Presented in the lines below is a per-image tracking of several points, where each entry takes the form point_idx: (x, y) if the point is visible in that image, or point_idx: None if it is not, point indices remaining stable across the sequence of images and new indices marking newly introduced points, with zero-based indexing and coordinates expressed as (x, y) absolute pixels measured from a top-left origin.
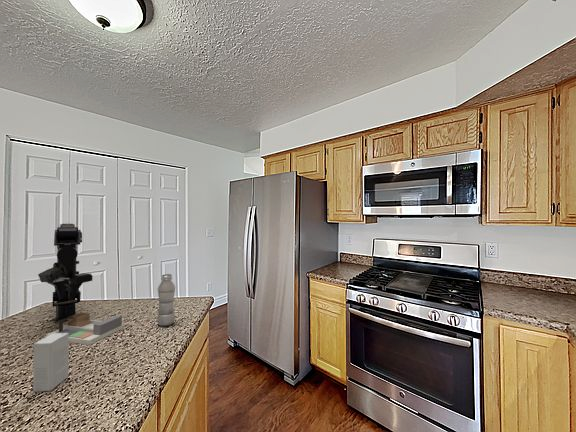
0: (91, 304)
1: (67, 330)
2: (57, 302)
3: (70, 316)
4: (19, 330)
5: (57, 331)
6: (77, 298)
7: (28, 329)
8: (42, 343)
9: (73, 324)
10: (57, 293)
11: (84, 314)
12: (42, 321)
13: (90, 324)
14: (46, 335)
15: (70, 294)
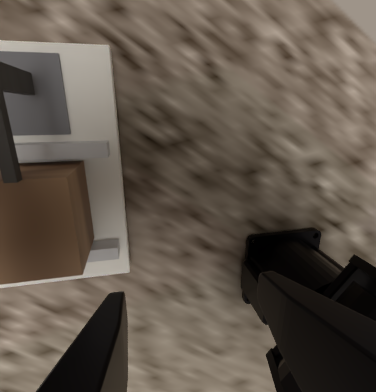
0: None
1: (27, 123)
2: (349, 285)
3: (62, 191)
4: (350, 101)
5: (87, 101)
6: (279, 380)
7: (321, 122)
8: None
9: (26, 168)
10: (352, 311)
11: (2, 256)
12: (344, 208)
13: None
14: (103, 45)
15: (55, 372)
